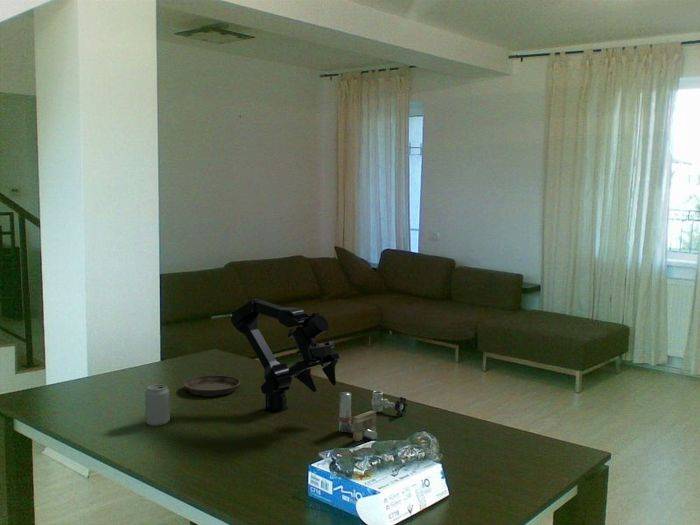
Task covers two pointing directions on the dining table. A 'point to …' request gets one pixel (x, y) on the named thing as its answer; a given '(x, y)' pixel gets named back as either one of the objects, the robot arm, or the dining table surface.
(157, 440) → the dining table surface
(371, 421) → the beige arch block
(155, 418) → the can
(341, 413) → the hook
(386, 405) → the valve
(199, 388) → the plant saucer
